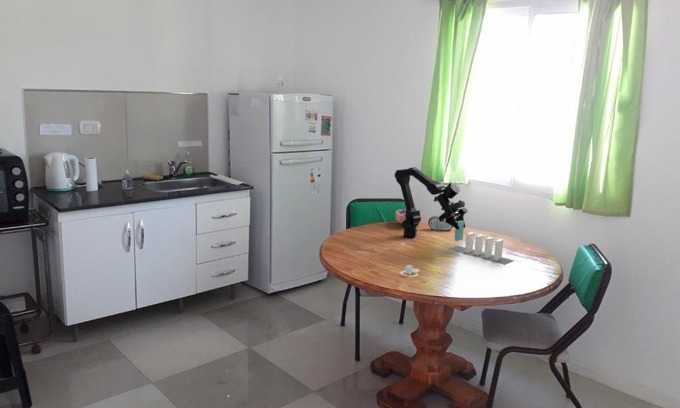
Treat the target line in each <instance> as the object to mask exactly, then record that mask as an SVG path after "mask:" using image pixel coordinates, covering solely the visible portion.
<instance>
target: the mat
mask: <svg viewBox="0 0 680 408" xmlns="http://www.w3.org/2000/svg"><path fill="white" fill-rule="evenodd" d="M447 250H449V251H452V252H456V253H461V254H462V255H468V256H471V257H473V258H478V259H481V260H485V261H488V262H492V263H496V264H500V265H504V266H505V265H508V264H510V263H513V262H514V261H515V260H513V259H510V258H506V257H502V259H500V260H498V261H495V260H494V254H492V256H491V257H488V258H484V251H482V254H480V255H474V251H475V249H473V251H472V252H469V253H466V252H465V246H461V245H455V246H453V247H449V248H447Z"/></svg>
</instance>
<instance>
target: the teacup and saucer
mask: <svg viewBox="0 0 680 408" xmlns="http://www.w3.org/2000/svg"><path fill="white" fill-rule="evenodd" d="M404 273H405V274H404ZM419 273H420V269H418V268H414V266H413V265H412V264H406V266H404V268H403V270H401V271H400V274H401V275H402V276H404V277H412V278H413V277H417V276H418V275H419ZM406 274H407V275H406ZM412 274H414V275H412Z"/></svg>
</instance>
